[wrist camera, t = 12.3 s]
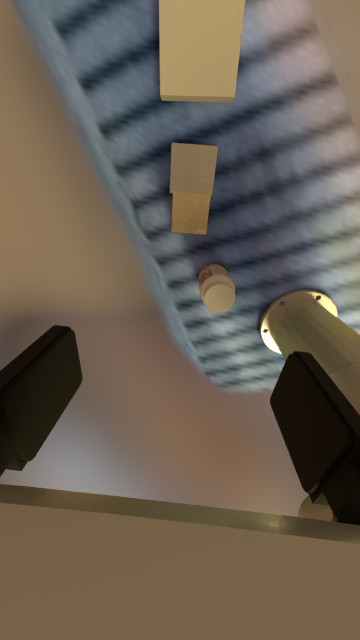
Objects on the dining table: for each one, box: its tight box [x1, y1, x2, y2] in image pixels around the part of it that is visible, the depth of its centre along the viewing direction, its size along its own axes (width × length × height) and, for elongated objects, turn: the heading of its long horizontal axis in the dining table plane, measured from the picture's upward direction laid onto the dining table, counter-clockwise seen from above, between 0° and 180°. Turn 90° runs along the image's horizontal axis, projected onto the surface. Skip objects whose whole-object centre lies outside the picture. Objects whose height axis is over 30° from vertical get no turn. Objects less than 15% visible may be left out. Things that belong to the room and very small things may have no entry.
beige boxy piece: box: [170, 143, 218, 235], centre depth 25 cm, size 9×6×7 cm, turn 176°
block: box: [159, 0, 245, 103], centre depth 22 cm, size 2×8×7 cm
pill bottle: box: [199, 264, 235, 313], centre depth 30 cm, size 5×5×8 cm
